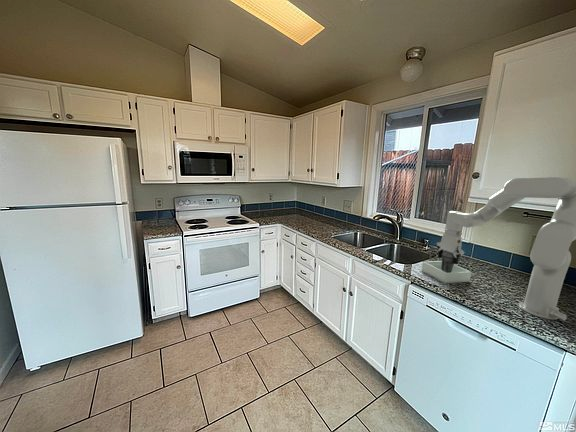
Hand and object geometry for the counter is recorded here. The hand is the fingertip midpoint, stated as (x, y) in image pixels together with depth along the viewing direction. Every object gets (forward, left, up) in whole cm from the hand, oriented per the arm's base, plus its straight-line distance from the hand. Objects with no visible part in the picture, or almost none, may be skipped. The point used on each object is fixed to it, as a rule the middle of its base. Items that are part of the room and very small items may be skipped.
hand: (447, 260), depth 137 cm
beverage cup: (0, 0, -9) cm, 9 cm away
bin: (0, 0, -10) cm, 10 cm away
